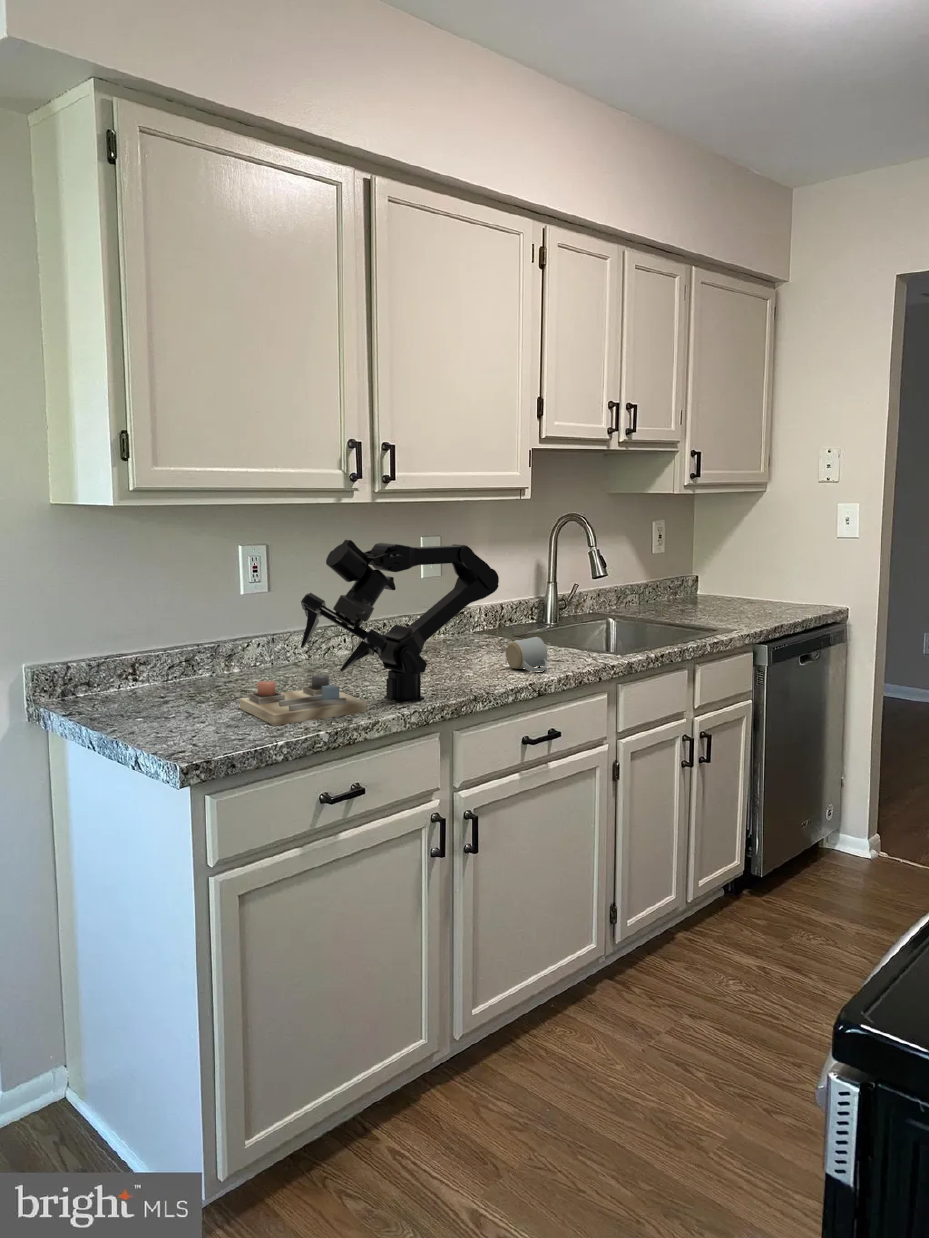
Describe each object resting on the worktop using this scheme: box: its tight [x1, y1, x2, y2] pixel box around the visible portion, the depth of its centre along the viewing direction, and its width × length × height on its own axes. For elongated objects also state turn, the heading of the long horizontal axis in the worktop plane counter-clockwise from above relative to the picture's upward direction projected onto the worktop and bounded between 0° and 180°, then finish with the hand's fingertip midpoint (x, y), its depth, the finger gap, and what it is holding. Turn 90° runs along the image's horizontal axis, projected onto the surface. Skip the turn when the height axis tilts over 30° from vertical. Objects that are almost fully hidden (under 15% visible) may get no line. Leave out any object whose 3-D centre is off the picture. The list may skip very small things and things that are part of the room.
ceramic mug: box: [505, 636, 548, 672], centre depth 237 cm, size 11×8×8 cm
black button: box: [310, 673, 330, 688], centre depth 201 cm, size 4×4×2 cm
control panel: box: [239, 685, 368, 726], centre depth 195 cm, size 20×17×3 cm
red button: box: [256, 680, 277, 695], centre depth 195 cm, size 4×4×2 cm
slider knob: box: [322, 684, 340, 700], centre depth 193 cm, size 2×3×3 cm
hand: (321, 659), depth 191 cm, fingers open, 9 cm apart
